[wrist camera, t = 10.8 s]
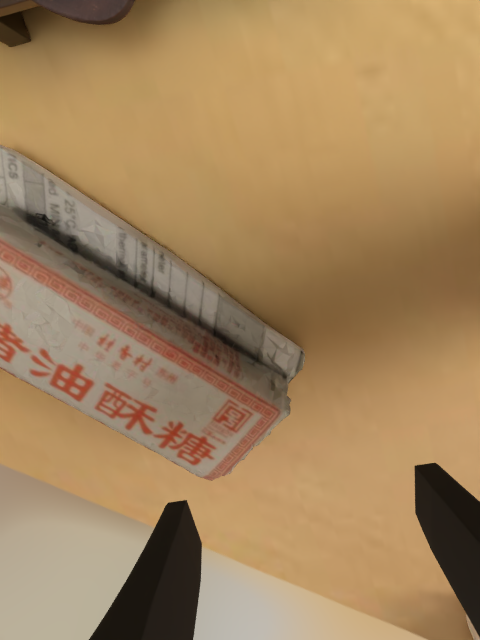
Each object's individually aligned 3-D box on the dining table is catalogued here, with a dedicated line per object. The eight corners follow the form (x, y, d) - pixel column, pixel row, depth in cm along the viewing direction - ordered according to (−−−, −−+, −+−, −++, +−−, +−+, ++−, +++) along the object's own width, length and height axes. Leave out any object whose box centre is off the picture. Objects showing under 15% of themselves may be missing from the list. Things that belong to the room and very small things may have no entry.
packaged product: (329, 393, 16) (206, 519, 19) (309, 345, 21) (212, 453, 24) (-72, 129, 12) (-146, 343, 15) (13, 140, 16) (-58, 304, 20)
